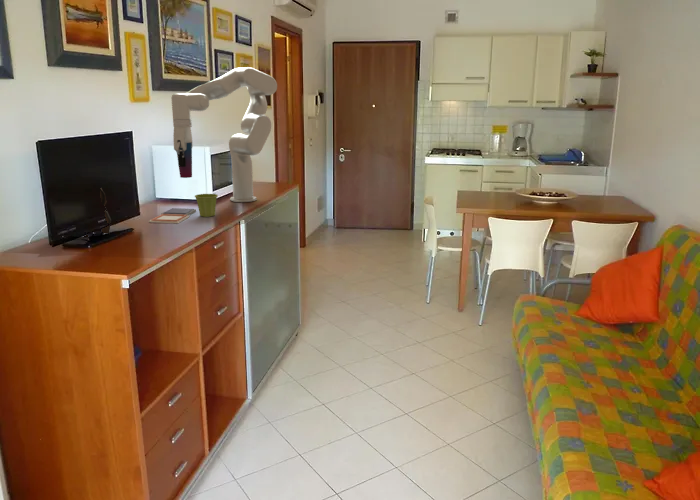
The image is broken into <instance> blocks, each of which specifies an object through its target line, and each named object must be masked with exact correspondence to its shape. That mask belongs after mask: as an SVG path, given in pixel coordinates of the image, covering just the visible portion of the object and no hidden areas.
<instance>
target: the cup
mask: <svg viewBox="0 0 700 500" xmlns="http://www.w3.org/2000/svg"><path fill="white" fill-rule="evenodd" d="M180 150H183V148H180ZM182 153H183V152H182ZM192 155H193V141H192V142H191V143H187V149H186V150H185V156H184V157H185V159H186V167H179V166H178V171H179V178H181V179H182V178H183V179H188V178H192V177H193V156H192Z"/></svg>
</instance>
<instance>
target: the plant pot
mask: <svg viewBox="0 0 700 500" xmlns="http://www.w3.org/2000/svg"><path fill="white" fill-rule="evenodd" d="M218 196H219V195H218V194H216V193H200V194H196V195H195V194H194V198H195V200H196V202H197V203H196V204H197V207H198V208H197V209H198V212H199V216H200V217H203V218H209V217H210V218H211V217H214V216H215V215H216V207H217V206H216V204H217V199H218Z"/></svg>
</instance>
